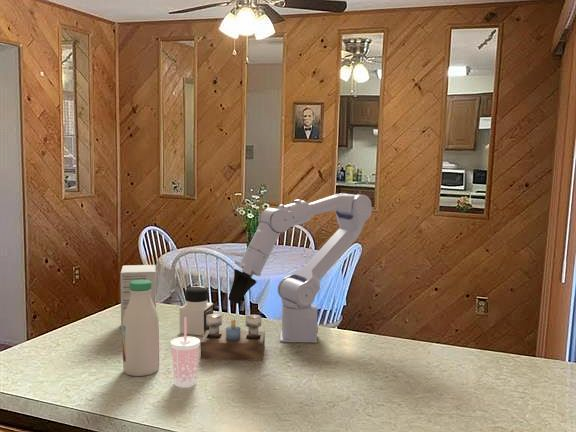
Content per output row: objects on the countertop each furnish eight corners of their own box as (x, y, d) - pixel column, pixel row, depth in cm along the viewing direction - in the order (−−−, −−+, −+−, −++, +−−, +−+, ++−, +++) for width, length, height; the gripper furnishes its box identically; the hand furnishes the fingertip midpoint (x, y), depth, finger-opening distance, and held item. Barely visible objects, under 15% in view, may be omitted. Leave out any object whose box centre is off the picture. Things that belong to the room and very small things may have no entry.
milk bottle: (166, 367, 120) (166, 279, 118) (143, 379, 113) (142, 287, 111) (139, 361, 123) (138, 276, 121) (115, 373, 116) (114, 283, 114)
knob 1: (223, 337, 131) (223, 314, 131) (220, 342, 128) (221, 318, 127) (207, 336, 132) (207, 313, 131) (204, 341, 128) (205, 318, 127)
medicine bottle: (204, 335, 142) (204, 291, 140) (179, 333, 143) (179, 289, 142) (213, 327, 149) (213, 285, 147) (189, 325, 150) (189, 283, 149)
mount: (264, 346, 134) (264, 331, 134) (262, 360, 125) (262, 343, 125) (206, 345, 134) (206, 330, 134) (200, 358, 125) (200, 342, 125)
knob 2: (261, 337, 131) (261, 314, 131) (260, 343, 128) (260, 319, 127) (246, 337, 131) (246, 314, 131) (244, 342, 128) (244, 319, 127)
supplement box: (122, 323, 151) (122, 264, 149) (156, 322, 153) (156, 264, 151) (120, 334, 141) (119, 272, 140) (156, 332, 144) (156, 271, 142)
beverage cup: (206, 380, 113) (206, 316, 112) (187, 391, 108) (187, 324, 106) (183, 374, 116) (183, 311, 115) (164, 384, 111) (163, 319, 109)
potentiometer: (241, 335, 130) (241, 318, 130) (239, 340, 127) (239, 322, 126) (227, 335, 130) (227, 317, 130) (225, 340, 127) (225, 322, 126)
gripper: (244, 248, 140) (220, 295, 138) (242, 241, 126) (215, 293, 123) (269, 260, 140) (245, 307, 137) (269, 254, 126) (243, 307, 123)
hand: (233, 301), depth 130 cm, fingers open, 7 cm apart
